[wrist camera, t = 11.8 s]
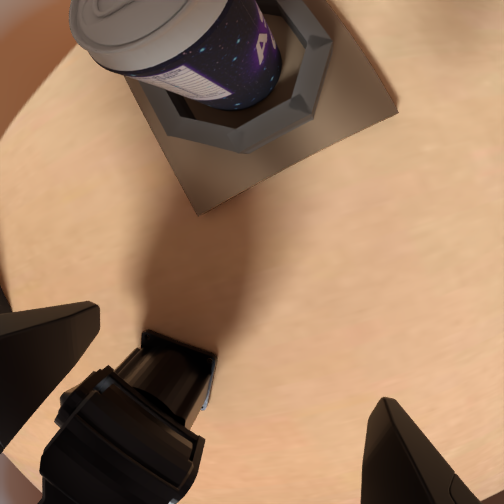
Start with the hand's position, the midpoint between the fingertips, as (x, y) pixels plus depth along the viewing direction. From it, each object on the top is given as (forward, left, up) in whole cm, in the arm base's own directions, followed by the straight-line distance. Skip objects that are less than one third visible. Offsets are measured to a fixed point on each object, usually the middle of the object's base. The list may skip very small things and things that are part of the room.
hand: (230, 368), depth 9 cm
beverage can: (+5, -10, -12) cm, 17 cm away
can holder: (+5, -11, -13) cm, 18 cm away
